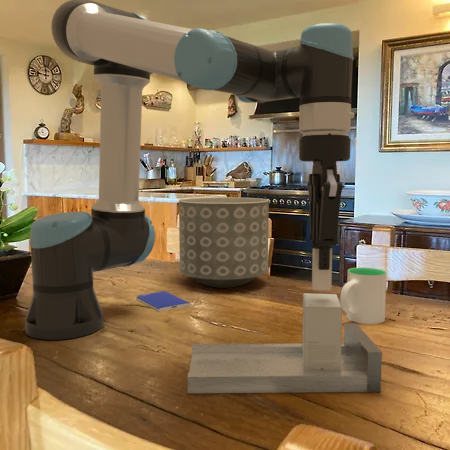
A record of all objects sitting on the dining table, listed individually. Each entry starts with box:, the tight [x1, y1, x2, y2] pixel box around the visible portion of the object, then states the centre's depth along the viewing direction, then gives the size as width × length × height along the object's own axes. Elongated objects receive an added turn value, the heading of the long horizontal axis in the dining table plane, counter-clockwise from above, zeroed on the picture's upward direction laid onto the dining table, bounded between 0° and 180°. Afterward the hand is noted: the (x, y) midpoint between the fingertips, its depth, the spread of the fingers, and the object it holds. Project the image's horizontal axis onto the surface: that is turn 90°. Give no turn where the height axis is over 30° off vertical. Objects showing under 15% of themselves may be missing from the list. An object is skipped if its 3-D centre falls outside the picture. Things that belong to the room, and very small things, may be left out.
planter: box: [178, 196, 270, 289], centre depth 135 cm, size 25×25×24 cm
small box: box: [302, 292, 343, 372], centre depth 75 cm, size 8×6×10 cm
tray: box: [187, 322, 383, 394], centre depth 75 cm, size 28×13×6 cm, turn 91°
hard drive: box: [136, 290, 190, 312], centre depth 116 cm, size 2×8×12 cm
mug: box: [339, 267, 387, 325], centre depth 102 cm, size 12×8×10 cm
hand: (321, 288), depth 74 cm, fingers closed
